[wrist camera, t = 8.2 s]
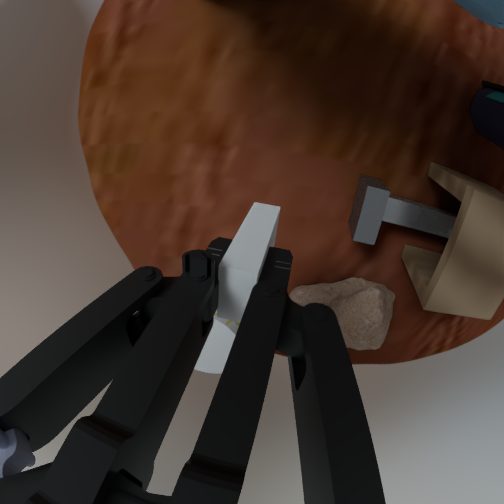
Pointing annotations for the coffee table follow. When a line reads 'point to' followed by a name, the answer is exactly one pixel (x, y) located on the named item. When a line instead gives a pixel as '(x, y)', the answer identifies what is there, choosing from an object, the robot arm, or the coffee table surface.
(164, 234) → the coffee table surface
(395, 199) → the grey square dumbbell
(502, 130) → the speaker
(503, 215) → the tunnel
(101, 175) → the coffee table surface
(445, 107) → the coffee table surface
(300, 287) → the stone
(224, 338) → the cup
